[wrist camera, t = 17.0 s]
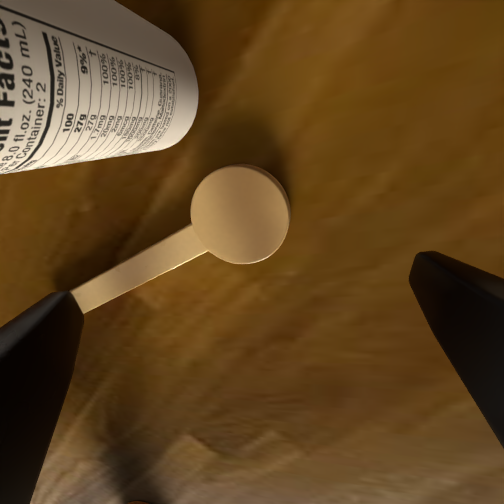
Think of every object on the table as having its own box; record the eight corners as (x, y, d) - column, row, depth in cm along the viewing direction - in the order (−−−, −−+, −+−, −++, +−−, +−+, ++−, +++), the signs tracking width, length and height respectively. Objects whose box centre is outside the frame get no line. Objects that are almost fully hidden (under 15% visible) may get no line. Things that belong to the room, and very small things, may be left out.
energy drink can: (160, 1, 15) (-972, -893, 2) (225, 109, 17) (-158, 43, 3) (86, 77, 18) (-685, -82, 4) (149, 168, 19) (-271, 275, 5)
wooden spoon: (88, 334, 26) (78, 343, 25) (42, 277, 24) (29, 284, 23) (307, 233, 19) (307, 240, 18) (260, 143, 17) (256, 145, 16)
